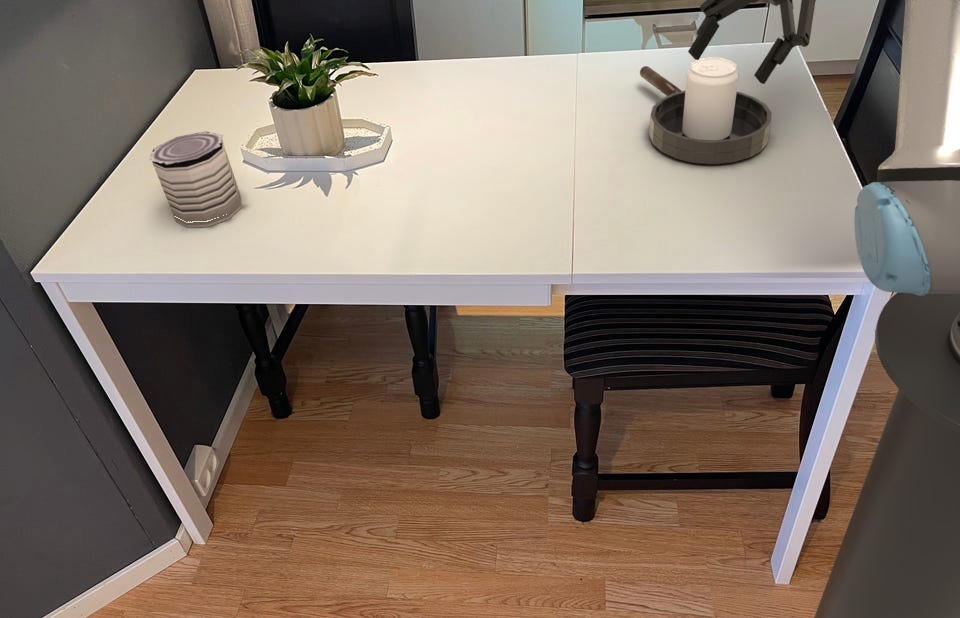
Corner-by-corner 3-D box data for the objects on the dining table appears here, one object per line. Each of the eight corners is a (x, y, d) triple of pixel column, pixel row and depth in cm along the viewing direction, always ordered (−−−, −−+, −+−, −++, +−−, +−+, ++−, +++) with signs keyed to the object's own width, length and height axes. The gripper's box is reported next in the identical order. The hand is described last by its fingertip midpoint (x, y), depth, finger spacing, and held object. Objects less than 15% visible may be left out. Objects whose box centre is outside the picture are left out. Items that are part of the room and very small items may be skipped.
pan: (791, 149, 130) (796, 124, 127) (687, 178, 126) (690, 152, 123) (724, 102, 144) (727, 79, 141) (629, 127, 140) (630, 104, 137)
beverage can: (735, 143, 131) (745, 74, 124) (686, 146, 132) (692, 78, 124) (725, 121, 137) (733, 54, 130) (678, 124, 138) (683, 57, 130)
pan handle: (684, 101, 141) (685, 89, 139) (673, 104, 140) (674, 92, 139) (647, 74, 150) (648, 63, 149) (637, 76, 150) (637, 65, 148)
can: (172, 234, 125) (145, 168, 118) (175, 199, 134) (150, 135, 126) (244, 219, 127) (222, 153, 119) (242, 185, 136) (221, 121, 128)
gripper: (878, -24, 119) (797, 101, 123) (745, -54, 135) (677, 57, 139) (865, -52, 114) (781, 79, 117) (728, -80, 130) (658, 36, 133)
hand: (724, 67), depth 128 cm, fingers open, 13 cm apart
